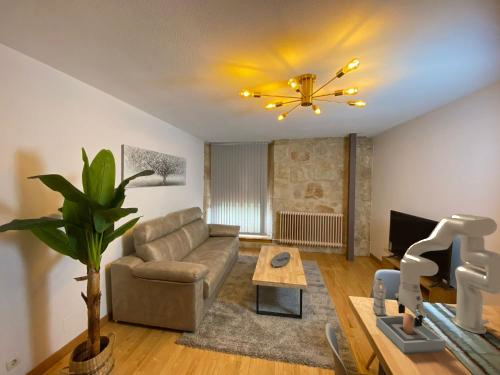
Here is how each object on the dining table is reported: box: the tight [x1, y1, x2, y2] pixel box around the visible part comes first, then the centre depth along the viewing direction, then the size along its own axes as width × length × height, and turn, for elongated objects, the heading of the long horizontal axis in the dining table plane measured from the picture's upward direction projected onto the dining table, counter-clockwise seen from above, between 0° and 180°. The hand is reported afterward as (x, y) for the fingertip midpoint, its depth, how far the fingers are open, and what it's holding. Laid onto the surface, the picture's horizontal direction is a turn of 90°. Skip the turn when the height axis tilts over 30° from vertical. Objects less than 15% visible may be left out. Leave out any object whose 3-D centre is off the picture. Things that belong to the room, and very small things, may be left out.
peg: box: [403, 312, 415, 335], centre depth 103 cm, size 4×4×10 cm
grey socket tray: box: [375, 315, 446, 355], centre depth 103 cm, size 20×18×5 cm
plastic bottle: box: [372, 278, 387, 317], centre depth 122 cm, size 6×7×20 cm
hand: (409, 319), depth 103 cm, fingers open, 9 cm apart
